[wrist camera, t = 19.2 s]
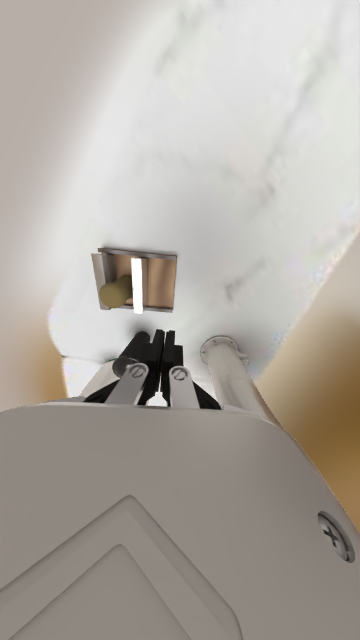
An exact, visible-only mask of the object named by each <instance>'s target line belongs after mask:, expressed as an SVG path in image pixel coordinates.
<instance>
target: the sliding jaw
mask: <svg viewBox="0 0 360 640" xmlns="http://www.w3.org/2000/svg"><path fill="white" fill-rule="evenodd" d="M131 266H132V285H133V303H134V313H143V312H144V310H145V309H146V307H147V306H148V276H147V258H131Z"/></svg>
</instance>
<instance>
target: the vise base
mask: <svg viewBox="0 0 360 640" xmlns="http://www.w3.org/2000/svg"><path fill="white" fill-rule="evenodd" d="M98 252H102V254H91V255H92V261H93V267H94V273H95V279H96V285H97V291H98V297H99V291H100V289H101V287H102V286H103V285H104V284H106V283H110V282H112V283H114V282H115V281H116V280H117V279H118V278H120V277H121V276H123V275H126V274H127V275H132V266H131V258H147V276H148V306H147V307H146V309H145V310H148V311H159V312H170V313H172V310H173V297H174V284H175V272H176V259H177V256H171V255H162V254H152V253H143V252H134V251H125V250H115V249H106V248H98ZM99 303H100V309H102V310H110V309H111V308H110V307H107V306H106V305H104V304H103V303H102V302H101V300H100V297H99ZM119 308H125V309H134V303H133V298H130V299H128V300H126V303H125V304H124V305H123V306H121V307H119Z"/></svg>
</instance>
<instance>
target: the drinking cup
mask: <svg viewBox="0 0 360 640" xmlns="http://www.w3.org/2000/svg"><path fill="white" fill-rule="evenodd" d="M149 342H150V336H149V335H148V334H147V333H145V332H139V333H137V334H136V335H135V337H134V338H133V339H132V341H131V342H130V343H129V344H128V346H127V347H126V348H125V350H124V351H123V352H122V354H121V355H120V356H119V358H117V359H116V360H115V361H114V362H113V365H112V370H113V372H114V374H115V375H116V376H117V377H118V378H121V377H122V376H123V374H124V373H125V371H126V370H127V369H128V367H129V366H131V365H133V364H135V363H138V362H139V359H140V357H141V354H142V352H143V349H144V346H145V344H146V343H149Z"/></svg>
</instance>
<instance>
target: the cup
mask: <svg viewBox="0 0 360 640" xmlns="http://www.w3.org/2000/svg"><path fill="white" fill-rule="evenodd" d="M114 361H115V360H113V361H110V362H107V363H105V364H104V365H103V366H102V367H101V369H100V370H99V371H98V372H97V373H96V374H95V376H94V377H93V378H92V379H91V381H90V382H89V383H88V384H87V386H86V387H85V388H84V390H83V391H82V393H81V394H80V395H79V396H84V398H85V397H88V396H89V395H91V394H92V393H94V392H96V391H98V390H99V389H101V388H103V387H105V386H107V385H109V384H111V383H112V382H114V381H116V380H118V379H120V378H118V377H117V376H116V375H115V374H114V372H113V370H112V365H113V362H114Z"/></svg>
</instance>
